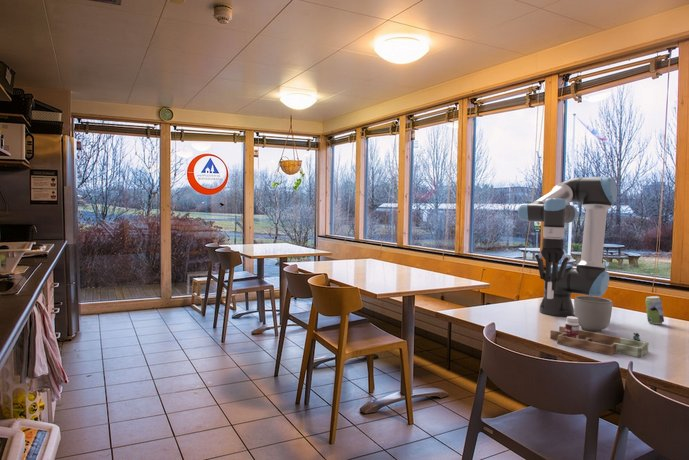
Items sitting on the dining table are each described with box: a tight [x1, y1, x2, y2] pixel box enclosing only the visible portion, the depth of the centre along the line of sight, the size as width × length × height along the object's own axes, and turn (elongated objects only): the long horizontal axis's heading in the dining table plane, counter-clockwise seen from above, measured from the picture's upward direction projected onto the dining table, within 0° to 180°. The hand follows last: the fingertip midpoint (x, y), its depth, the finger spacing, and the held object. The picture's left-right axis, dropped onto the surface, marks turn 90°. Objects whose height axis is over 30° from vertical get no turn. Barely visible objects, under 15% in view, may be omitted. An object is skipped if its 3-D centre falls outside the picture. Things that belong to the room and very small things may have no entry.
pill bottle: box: [564, 316, 580, 339], centre depth 179 cm, size 5×5×8 cm
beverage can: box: [644, 295, 665, 325], centre depth 208 cm, size 6×7×12 cm
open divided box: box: [549, 325, 649, 358], centre depth 171 cm, size 30×15×3 cm, turn 46°
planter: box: [573, 295, 613, 333], centre depth 193 cm, size 14×14×13 cm
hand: (550, 298), depth 184 cm, fingers closed
